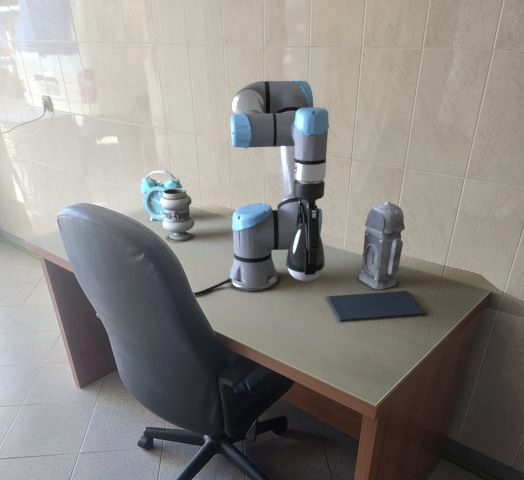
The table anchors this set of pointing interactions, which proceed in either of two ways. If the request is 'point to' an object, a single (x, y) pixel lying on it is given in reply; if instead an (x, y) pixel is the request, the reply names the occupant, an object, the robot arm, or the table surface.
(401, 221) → the figurine
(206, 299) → the table surface
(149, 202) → the alarm clock
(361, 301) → the desk mat
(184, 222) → the apothecary jar
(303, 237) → the black rounded piece
